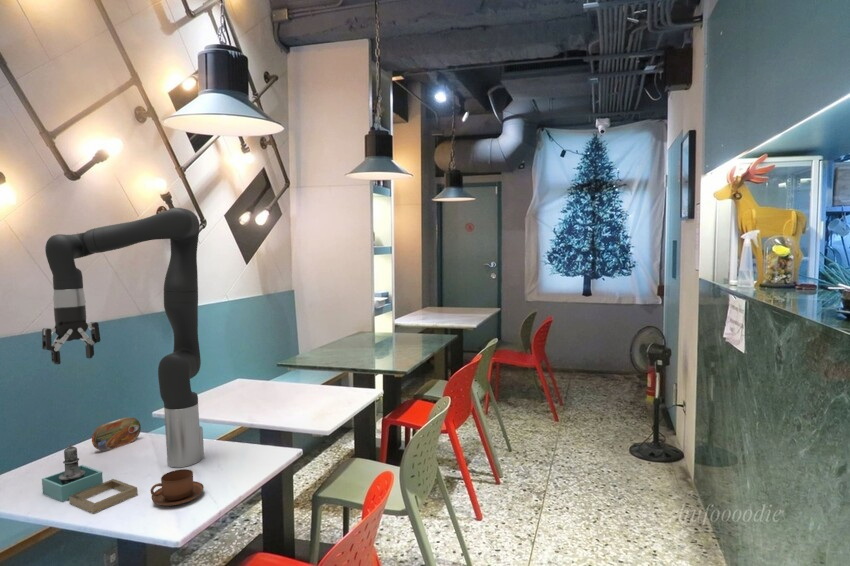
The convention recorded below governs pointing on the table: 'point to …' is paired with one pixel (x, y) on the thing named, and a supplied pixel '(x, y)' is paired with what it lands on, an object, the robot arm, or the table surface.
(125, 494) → the socket collar
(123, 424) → the tin
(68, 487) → the bin
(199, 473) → the table surface
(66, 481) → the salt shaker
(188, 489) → the cup and saucer
